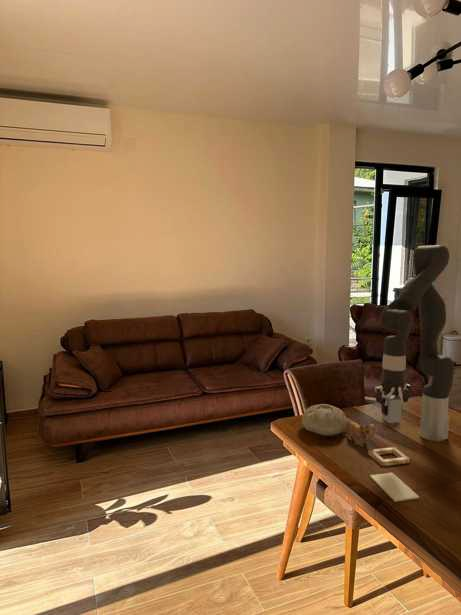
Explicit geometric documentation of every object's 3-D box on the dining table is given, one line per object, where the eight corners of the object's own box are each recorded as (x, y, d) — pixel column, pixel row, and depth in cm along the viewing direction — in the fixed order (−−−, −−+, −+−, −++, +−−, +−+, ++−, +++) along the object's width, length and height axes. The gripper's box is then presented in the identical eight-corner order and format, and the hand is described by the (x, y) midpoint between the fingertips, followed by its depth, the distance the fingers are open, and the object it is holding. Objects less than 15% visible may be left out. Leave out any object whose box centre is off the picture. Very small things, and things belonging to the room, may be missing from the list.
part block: (393, 416, 154) (394, 395, 153) (400, 421, 149) (402, 399, 148) (381, 417, 153) (383, 396, 152) (389, 423, 148) (390, 400, 147)
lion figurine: (378, 447, 162) (380, 424, 160) (370, 451, 159) (371, 427, 157) (347, 433, 174) (348, 411, 172) (338, 436, 170) (339, 414, 169)
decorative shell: (325, 445, 163) (326, 419, 162) (292, 428, 177) (292, 405, 176) (355, 433, 174) (356, 409, 172) (321, 418, 188) (322, 396, 186)
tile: (391, 474, 142) (392, 472, 142) (419, 498, 129) (419, 496, 129) (370, 476, 141) (370, 475, 141) (395, 501, 127) (395, 499, 127)
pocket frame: (394, 450, 159) (394, 447, 158) (409, 462, 150) (409, 458, 150) (368, 453, 156) (368, 449, 156) (382, 466, 148) (382, 461, 148)
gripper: (405, 362, 153) (403, 408, 156) (369, 365, 150) (367, 411, 153) (419, 368, 146) (416, 416, 149) (381, 371, 143) (379, 420, 146)
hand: (391, 413), depth 151 cm, fingers closed on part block, 4 cm apart
